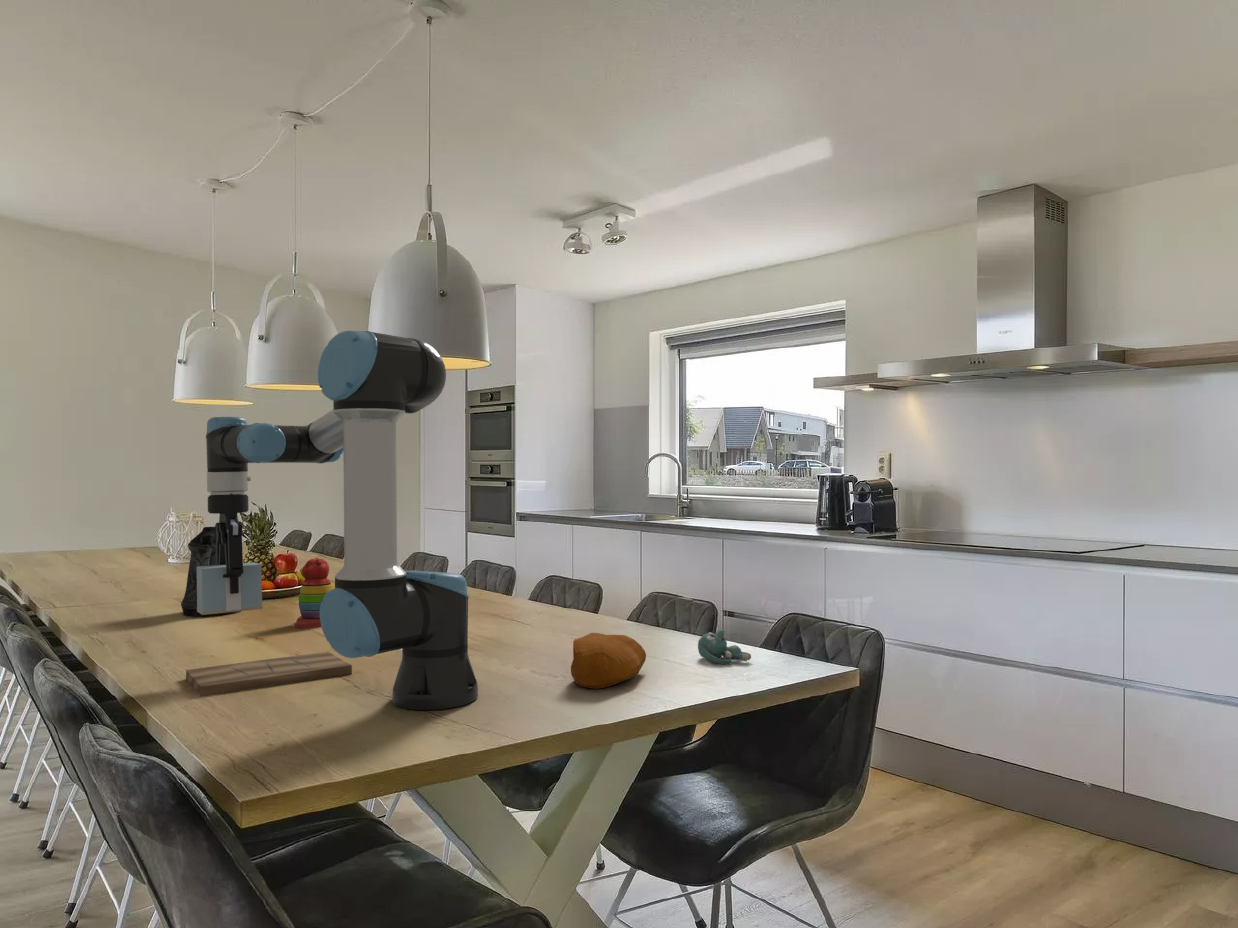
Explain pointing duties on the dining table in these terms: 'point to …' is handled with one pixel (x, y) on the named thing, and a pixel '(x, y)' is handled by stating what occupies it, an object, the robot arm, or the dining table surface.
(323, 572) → the stacking bear
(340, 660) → the board
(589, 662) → the bread
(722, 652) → the stuffed animal
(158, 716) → the dining table surface
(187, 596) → the beer stein
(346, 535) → the robot arm
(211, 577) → the sanding block
